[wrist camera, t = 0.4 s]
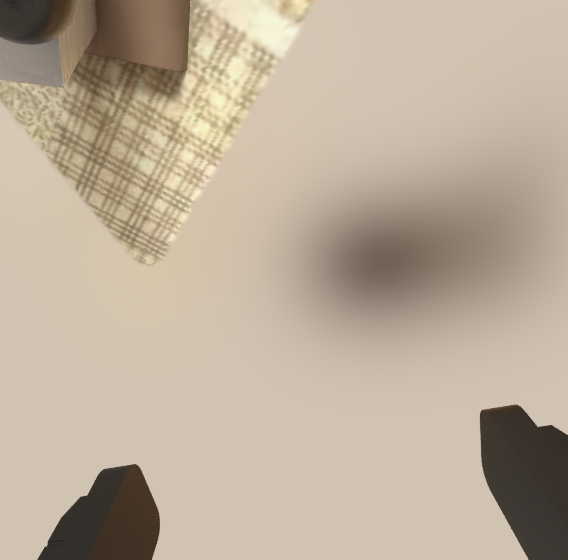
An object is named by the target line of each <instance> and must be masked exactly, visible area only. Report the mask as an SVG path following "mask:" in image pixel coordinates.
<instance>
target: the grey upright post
mask: <svg viewBox="0 0 568 560" xmlns="http://www.w3.org/2000/svg"><path fill="white" fill-rule="evenodd" d="M96 31H97V20H96V3H95V0H0V77H1V80H6V81H14V82H22V83H31V84H39V85H47V86H55V87H63V88H64V86H65V84H66V83H67V81H68V79H69V77H70V76H71V74H72V72H73V71H74V69H75V67H76V65H77V64H78V62H79V60H80V59H81V57H82V55H83V53H84V52H85V50H86V48H87V47H88V45H89V43H90V42H91V40H92V38H93V36H94V35H95V33H96Z"/></svg>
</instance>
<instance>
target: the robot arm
mask: <svg viewBox="0 0 568 560" xmlns="http://www.w3.org/2000/svg"><path fill="white" fill-rule="evenodd" d="M480 433H481V457H482V467H483V471H484V475H485V478H486V481H487V484H488V486H489V488H490V490H491V492H492V494H493V496H494V498H495V500H496V501H497V503H498V505H499V507H500V509H501V511H502V512H503V514H504V516H505V518H506V519H507V521H508V523H509V525H510V527H511V529H512V530H513V532H514V534H515V536H516V537H517V539H518V541H519V543H520V545H521V547H522V548H523V550H524V552H525V554H526V555H527V557H528V559H529V560H568V435H567V434H565V433H563V432H562V431H560V430H559V429H557V428H555V427H554V426H552V425H549V426H542V427H537V426H536V425H535V423H534V422H533V421H532V419H531V418H530V417H529V416H528V415H527V413H526V412H525V411H524V410H523V409H522V408H521V407H520V406H518V405H510V406H504V407H498V408H491V409H485V410H482V411H481V413H480ZM159 530H160V519H159V512H158V509H157V506H156V504H155V501H154V499H153V497H152V494H151V492H150V490H149V487H148V485H147V483H146V481H145V478H144V476H143V473H142V471H141V469H140V468H139V466H137V465H136V464H133V465H127V466H121V467H115V468H108V469H104V470H102V471H101V472H100V473H99V475H98V476H97V478H96V480H95V482H94V484H93V486H92V488H91V490H90V492H89V494H88V495H87V496H83V497H80V498H79V499H78V500H77V501H76V503H75V504H74V505H73V506H72V507H71V508H70V509H69V510H68V511H67V512H66V513H65V515H63V517H62V518H61V519H60V521H59V523H58V525H57V526H56V528H55V530H54V532H53V533H52V535H51V537H50V539H49V540H48V545H47V547H45V548H44V549H43V551H42V553H41V554H40V556H39V558H38V560H152V556H153V554H154V550H155V547H156V544H157V541H158V536H159Z"/></svg>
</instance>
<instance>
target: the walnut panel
mask: <svg viewBox="0 0 568 560" xmlns="http://www.w3.org/2000/svg"><path fill="white" fill-rule="evenodd" d="M95 3H96V20H97V31H96V33H95V35H94V36H93V38H92V40H91V42H90V43H89V45H88V47H87V48H86V50H85V52H84V53H89V54H94V55H99V56H104V57H109V58H114V59H119V60H124V61H128V62H133V63H138V64H143V65H148V66H153V67H158V68H163V69H168V70H173V71H178V72H181V71H183V70H185V69H187V57H188V35H189V14H190V0H95Z"/></svg>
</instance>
